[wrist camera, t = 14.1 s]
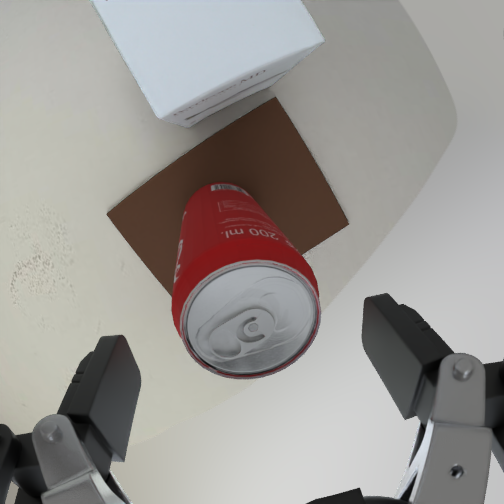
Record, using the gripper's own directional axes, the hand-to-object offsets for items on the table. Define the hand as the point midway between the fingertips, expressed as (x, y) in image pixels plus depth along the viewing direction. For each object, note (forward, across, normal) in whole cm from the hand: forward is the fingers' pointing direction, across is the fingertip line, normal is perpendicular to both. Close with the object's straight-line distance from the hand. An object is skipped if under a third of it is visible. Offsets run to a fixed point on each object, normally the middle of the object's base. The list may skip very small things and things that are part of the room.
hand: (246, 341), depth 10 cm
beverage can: (+16, 0, 0) cm, 16 cm away
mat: (+16, 0, 0) cm, 16 cm away
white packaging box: (+16, 0, -12) cm, 20 cm away
